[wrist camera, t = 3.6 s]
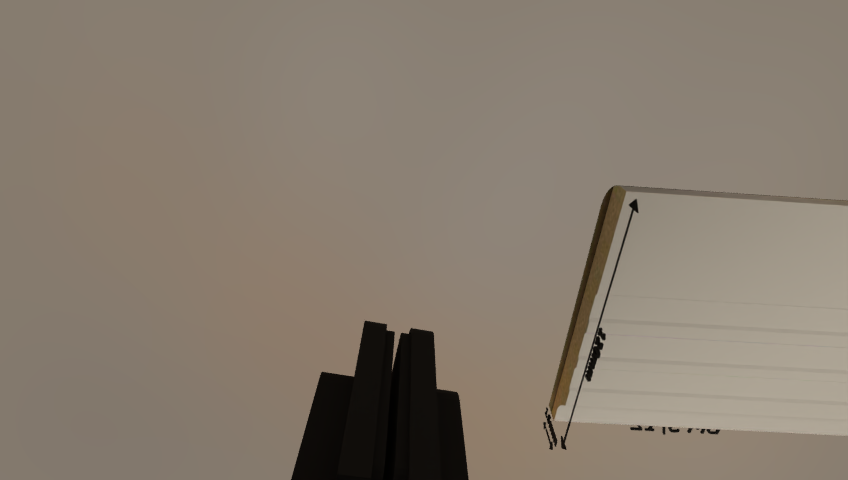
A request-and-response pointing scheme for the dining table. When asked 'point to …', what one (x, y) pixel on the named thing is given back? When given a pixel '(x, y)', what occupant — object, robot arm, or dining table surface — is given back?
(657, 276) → the baseboard molding
